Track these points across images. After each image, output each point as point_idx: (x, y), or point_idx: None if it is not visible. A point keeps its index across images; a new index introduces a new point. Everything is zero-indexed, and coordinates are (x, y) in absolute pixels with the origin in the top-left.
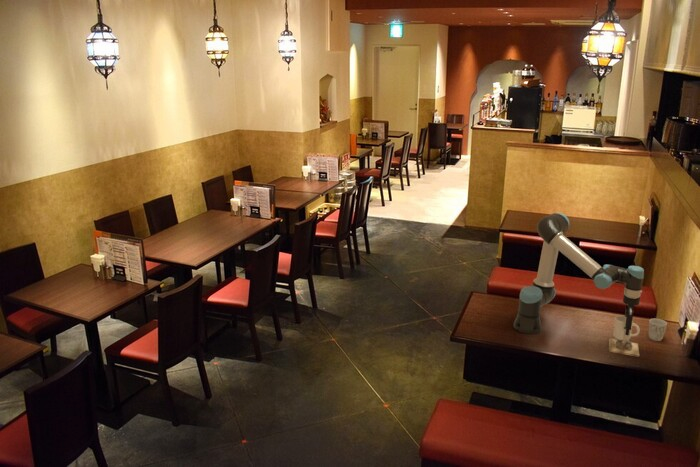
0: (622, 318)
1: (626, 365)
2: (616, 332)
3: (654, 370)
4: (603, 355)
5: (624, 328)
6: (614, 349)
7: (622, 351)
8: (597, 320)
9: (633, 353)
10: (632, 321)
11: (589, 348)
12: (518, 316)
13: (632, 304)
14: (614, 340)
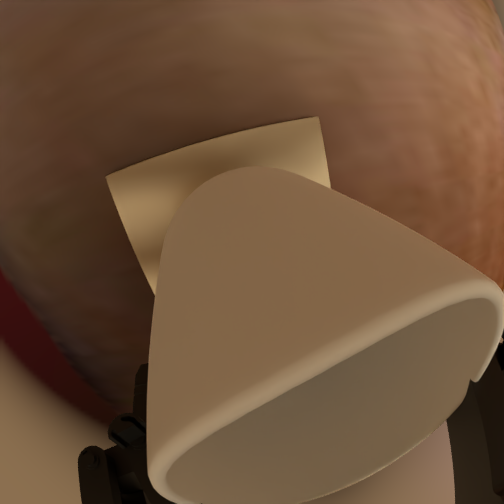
0: (459, 327)
1: (37, 311)
2: (165, 245)
3: (108, 396)
4: (35, 170)
5: (117, 427)
6: (140, 204)
7: (151, 259)
8: (478, 65)
9: None
10: (308, 500)
11: (73, 54)
12: None
13: None
14: (307, 159)
